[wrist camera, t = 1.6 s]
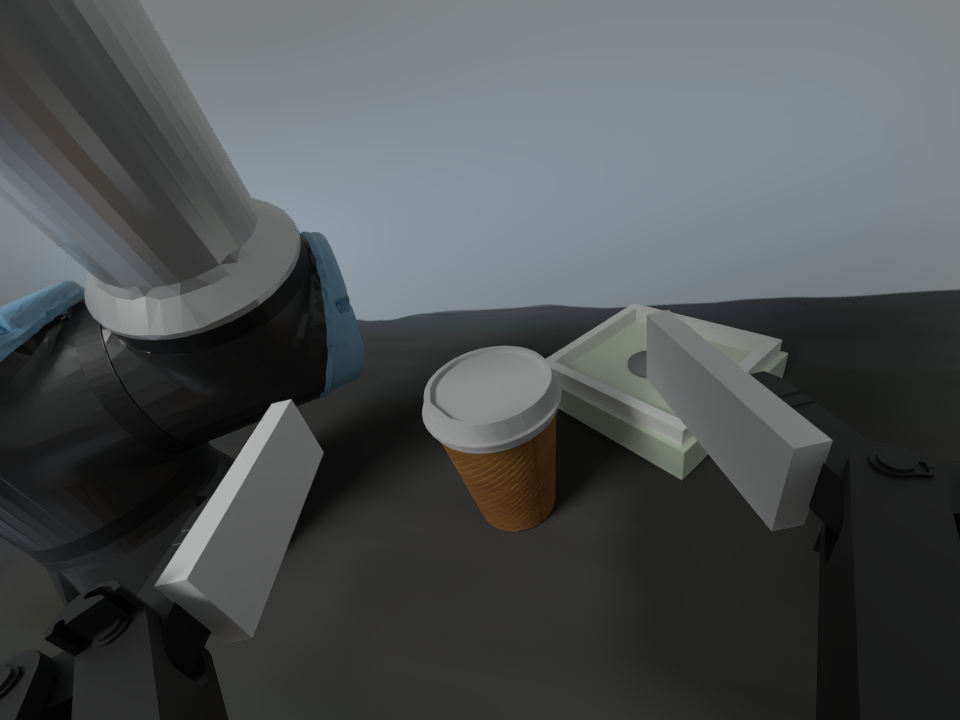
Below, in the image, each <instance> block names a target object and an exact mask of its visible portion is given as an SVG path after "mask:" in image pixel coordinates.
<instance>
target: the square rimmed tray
mask: <svg viewBox="0 0 960 720" xmlns="http://www.w3.org/2000/svg"><path fill="white" fill-rule="evenodd" d="M661 311H663V310H659V309H655V308H651V307H647V306H643V305H639V304H632V305H630V306H628V307H627V308H625V309H624V310H622V311H621V312H619V313H617V314H616V315H614V316H613V317H611V318H609V319H608V320H606V321H605V322H603V323H602V324H600V325H598V326H597V327H595V328H594V329H592V330H591V331H589V332H587V333H586V334H584V335H583V336H581V337H579V338H578V339H576V340H575V341H573V342H572V343H570V344H568V345H567V346H565V347H564V348H562V349H561V350H559V351H557V352H556V353H554V354H553V355H551V356H549V357H548V358H546V360H547V362H548V364H549V365H550V367H551V369H552V370H553V371H554V372H555V373H556V375H557V376H558V378H559V380H560V383H561V387H562V393H561V402H560V404H559V406H558V409H560V410H562V411H564V412H565V413H567V414H569V415H570V416H572V417H574V418H576V419H577V420H579V421H581V422H583V423H584V424H586V425H588V426H589V427H591V428H593V429H595V430H596V431H598V432H600V433H601V434H603V435H605V436H607V437H608V438H610V439H612V440H613V441H615V442H617V443H619V444H620V445H622V446H624V447H625V448H627V449H629V450H631V451H632V452H634V453H636V454H638V455H639V456H641V457H643V458H644V459H646V460H648V461H650V462H651V463H653V464H655V465H656V466H658V467H660V468H662V469H663V470H665V471H667V472H668V473H670V474H672V475H674V476H675V477H677V478H679V479H680V480H683V479H684V478H685V477H686V476H687V475H688V474H689V473H690V472H691V471H692V470H693V469H694V468H695V467H696V466H697V465H698V464H699V463H700V462H701V461H702V460H703V459H704V458H705V457H706V456H707V455H708V453H707V452H706V450H705V449H704V448H703V447H702V446H701V444H700V443H699V442H698V441H697V439H696V438H695V437H694V436H693V435H692V433H691V432H690V431H689V430H688V428H687V427H686V426H685V425H684V424H683V422H682V421H681V420H680V419H679V417H678V416H677V415H676V414H675V413H674V411H673V410H672V409H671V408H670V406H669V405H668V404H667V403H666V402H665V400H664V399H663V398H662V397H661V395H660V394H659V393H658V392H657V391H656V389H655V388H654V387H653V386H652V384H651V383H650V382H649V381H648V380H647V315H649V314H653V313H657V312H661ZM673 314H674V315H675V316H677V317H678V318H679V319H681V320H682V321H683V322H684V323H686V324H687V325H688V326H689V327H691V328H692V329H693V330H694V331H696V332H697V333H698V334H699V335H701V336H702V337H703V338H704V339H706V340H707V341H708V342H710V343H711V344H712V345H713V346H715V347H716V348H717V349H718V350H720V351H721V352H722V353H723V354H725V355H726V356H727V357H728V358H730V359H731V360H732V361H733V362H735V363H736V364H737V365H738V366H740V367H741V368H742V369H744V370H745V371H746V372H747V373H749V374H753V373H757V372H761V371H765V372H768V373H770V374H773V375H775V376H778V377H781V378H783V374H784V370H785V366H786V361H787V357H788V353H786V352H782V351H780V349H781V344H782V340H781V339H777V338H773V337H769V336H765V335H761V334H757V333H753V332H749V331H745V330H740V329H736V328H732V327H728V326H724V325H720V324H716V323H712V322H708V321H704V320H700V319H696V318H692V317H687V316H683V315H679V314H675V313H673Z"/></svg>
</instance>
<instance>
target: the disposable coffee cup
mask: <svg viewBox="0 0 960 720" xmlns="http://www.w3.org/2000/svg"><path fill="white" fill-rule="evenodd" d="M561 393H562V387H561V383H560V380H559V378H558V376H557V375H556V373H555V372H554V371H553V370H552V369H551V367H550V365H549V364H548V362H547V360H546V359H544V358H543V357H542V356H541V355H539V354H538V353H537V352H535V351H532V350H530V349H526V348H522V347H516V346H494V347H487V348H482V349H478V350H475V351H471V352H468V353H465V354H463V355H461V356H459V357H457V358H455V359H453V360H451V361H450V362H448V363H447V364H445V365H444V366H442V367H441V368H440V369H439V370H438V371H437V372H436V373H435V374H434V375H433V376H432V377H431V378H430V380H429V381H428V383H427V385H426V387H425V391H424V404H423V409H422V416H423V422H424V424H425V426H426V428H427V430H428V431H429V432H430V433H431V434H432V435H433V437H435V438H436V439H438V440H439V441H440V442H441V443H442V445H443V446H444V448H445V449H446V452H447V453H448V455H449V457H450V459H451V460H452V462H453V464H454V465H455V467H456V469H457V471H458V472H459V474H460V476H461V478H462V479H463V481H464V483H465V485H466V486H467V488H468V490H469V491H470V493H471V495H472V497H473V499H474V500H475V502H476V504H477V505H478V507H479V509H480V510H481V512H482V514H483V516H484V518H485V519H486V520H487V521H488V522H489V523H490V524H491V525H493V526H494V527H496V528H498V529H501V530H505V531H513V532H517V531H523V530H528V529H531V528H533V527H535V526H537V525H539V524H540V523H541V522H542V521H543V520H545V519H546V518H547V517H548V515H549V514H550V513H551V511H552V509H553V507H554V503H555V467H556V412H557V409H558V406H559V404H560V402H561Z"/></svg>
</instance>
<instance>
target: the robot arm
mask: <svg viewBox="0 0 960 720" xmlns="http://www.w3.org/2000/svg"><path fill="white" fill-rule="evenodd" d="M0 196H1V197H3V198H4V199H5V200H6V201H7V202H8V203H9V204H11V205H12V206H13V207H14V208H15V209H16V210H18V211H19V212H20V213H21V214H22V215H23V216H25V217H26V218H27V219H28V220H29V221H30V222H31V223H33V224H34V225H35V226H36V227H37V228H38V229H40V230H41V231H42V232H43V233H44V234H45V235H47V236H48V237H49V238H50V239H51V240H52V241H54V242H55V243H56V244H57V245H58V246H59V247H61V248H62V249H63V250H64V251H65V252H66V253H68V254H69V255H70V256H71V257H72V258H73V259H75V260H76V261H77V262H78V263H79V264H80V265H82V266H83V267H84V268H85V269H86V270H87V271H88V274H87V279H86V284H85V289H84V288H82V287H81V286H80V285H78V284H77V283H75V282H72V281H61V282H60V283H59V284H54V285H52V286H49V287H46V288H44V289H41V290H39V291H37V292H34V293H32V294H30V295H27V296H25V297H23V298H20V299H18V300H16V301H14V302H12V303H9V304H7V305H5V306H2V307H0V537H2V538H3V539H5V540H6V541H8V542H9V543H11V544H12V545H14V546H16V547H17V548H19V549H20V550H22V551H24V552H25V553H27V554H28V555H29V556H31V557H32V558H34V559H35V560H37V561H38V562H39V563H41V564H42V565H43V566H44V567H45V568H46V569H47V571H48V573H49V575H50V577H51V579H52V582H53V584H54V586H55V588H56V590H57V592H58V594H59V596H60V598H61V600H62V602H63V604H64V606H65V608H64V609H63V610H62V611H61V612H60V613H59V614H58V615H57V616H56V618H55V619H54V621H53V622H52V623H51V625H50V626H49V627H48V630H47V632H46V635H45V637H44V639H45V640H47V641H49V642H50V643H52V644H54V645H55V646H57V647H59V648H61V649H62V650H64V652H62V653H60V654H58V655H56V656H54V657H52V658H50V657H48V656H46V655H44V654H43V653H41V652H39V651H37V650H29V651H25V652H23V653H20V654H18V655H16V656H14V657H12V658H11V659H9V660H8V661H6V662H5V663H3V664H2V665H0V720H228V716H227V712H226V709H225V705H224V701H223V697H222V693H221V690H220V686H219V682H218V678H217V675H216V671H215V667H214V663H213V660H212V656H211V654H210V653H209V651H208V650H207V649H206V648H205V647H204V646H205V644H206V642H207V640H208V638H209V635H210V633H212V634H213V635H214V636H216V637H217V638H218V639H219V640H220V641H222V642H223V643H224V644H225V643H230V642H235V641H239V640H244V639H249V638H253V635H254V633H255V630H256V627H257V625H258V622H259V620H260V617H261V614H262V612H263V609H264V607H265V604H266V601H267V599H268V596H269V593H270V591H271V588H272V586H273V583H274V580H275V578H276V575H277V573H278V570H279V567H280V565H281V562H282V560H283V557H284V554H285V552H286V549H287V547H288V544H289V541H290V539H291V536H292V534H293V531H294V528H295V526H296V523H297V521H298V518H299V515H300V513H301V510H302V508H303V505H304V502H305V500H306V497H307V495H308V492H309V489H310V487H311V484H312V482H313V479H314V476H315V474H316V471H317V469H318V466H319V463H320V461H321V458H322V456H323V453H324V452H323V450H322V449H321V447H320V445H319V444H318V442H317V440H316V439H315V437H314V436H313V434H312V432H311V431H310V429H309V427H308V426H307V424H306V422H305V421H304V419H303V417H302V416H301V414H300V412H299V411H298V409H297V408H296V407H297V406H299V405H302V404H304V403H307V402H310V401H312V400H315V399H317V398H323V397H325V396H326V395H328V394H329V392H330V391H332V390H334V389H336V388H339V387H341V386H343V385H345V384H347V383H349V382H351V381H353V380H355V379H356V378H357V377H358V376H359V375H360V374H361V372H362V371H363V368H364V365H365V355H364V348H363V344H362V339H361V336H360V332H359V328H358V324H357V321H356V318H355V315H354V311H353V309H352V307H351V305H350V304H349V297H348V295H347V291H346V286H345V283H344V280H343V277H342V275H341V272H340V269H339V266H338V264H337V261H336V259H335V256H334V254H333V252H332V249H331V247H330V245H329V243H328V241H327V239H326V238H325V237H324V236H323V235H322V234H321V233H318V232H312V233H309V232H302V233H299V231H298V229H297V227H296V225H295V223H294V222H293V220H292V219H291V218H290V217H289V216H288V215H287V214H286V213H285V212H284V211H283V210H282V209H280V208H278V207H277V206H274V205H272V204H270V203H268V202H264V201H261V200H257V199H254V198H251V196H250V195H249V193H248V191H247V189H246V187H245V186H244V184H243V182H242V180H241V179H240V177H239V175H238V173H237V171H236V170H235V168H234V166H233V164H232V163H231V161H230V159H229V157H228V156H227V154H226V152H225V151H224V149H223V147H222V145H221V143H220V142H219V140H218V138H217V136H216V134H215V133H214V131H213V129H212V128H211V126H210V124H209V122H208V120H207V119H206V117H205V115H204V113H203V112H202V110H201V108H200V106H199V105H198V103H197V101H196V99H195V97H194V96H193V94H192V92H191V91H190V89H189V87H188V85H187V84H186V82H185V80H184V78H183V76H182V75H181V73H180V71H179V69H178V68H177V66H176V64H175V62H174V60H173V59H172V57H171V55H170V53H169V52H168V50H167V48H166V46H165V45H164V43H163V41H162V39H161V38H160V36H159V34H158V32H157V31H156V29H155V27H154V25H153V24H152V22H151V20H150V18H149V16H148V15H147V13H146V11H145V9H144V8H143V6H142V4H141V3H140V1H139V0H0ZM647 380H648V381H649V382H650V383H651V384H652V386H653V387H654V388H655V389H656V391H657V392H658V393H659V394H660V395H661V397H662V398H663V399H664V400H665V402H666V403H667V404H668V405H669V406H670V408H671V409H672V410H673V411H674V413H675V414H676V415H677V416H678V417H679V419H680V420H681V421H682V422H683V424H684V425H685V426H686V427H687V428H688V430H689V431H690V432H691V433H692V435H693V436H694V437H695V438H696V439H697V441H698V442H699V443H700V444H701V446H702V447H703V448H704V449H705V450H706V452H707V453H708V454H709V455H710V457H711V458H712V459H713V460H714V461H715V463H716V464H717V465H718V466H719V468H720V469H721V470H722V471H723V472H724V474H725V475H726V476H727V477H728V479H729V480H730V481H731V482H732V483H733V485H734V486H735V487H736V488H737V490H738V491H739V492H740V493H741V494H742V496H743V497H744V498H745V499H746V501H747V502H748V503H749V504H750V505H751V507H752V508H753V509H754V510H755V512H756V513H757V514H758V515H759V516H760V518H761V519H762V520H763V521H764V523H765V524H766V525H767V526H768V527H769V529H770V530H771V531H775V530H780V529H785V528H790V527H795V526H800V525H804V524H805V521H806V518H807V515H808V512H809V509H811V510H812V511H813V512H814V513H815V514H816V515H817V516H818V517H819V518H820V519H821V520H822V521H823V525H822V528H821V530H820V533H819V536H818V538H817V541H816V543H815V546H814V549H813V550H815V551H817V552H819V551H820V571H819V616H818V661H817V706H816V720H960V462H953V461H931V460H929V459H928V458H927V457H926V456H924V455H922V454H920V453H918V452H916V451H914V450H912V449H910V448H907V447H904V446H900V445H897V444H893V443H887V442H878V441H870V440H868V439H867V438H865V437H864V436H863V435H861V434H860V433H858V432H857V431H856V430H854V429H853V428H852V427H850V426H849V425H847V424H846V423H845V422H843V421H842V420H841V419H839V418H838V417H836V416H835V415H834V414H832V413H831V412H830V411H828V410H827V409H825V408H824V407H823V406H821V405H820V404H819V403H817V404H816V403H815V401H814V400H813V399H812V398H810V397H809V396H807V395H806V394H805V393H804V394H802V392H801V390H799V389H798V388H796V387H795V386H794V385H792V384H791V383H790V382H788V381H787V380H785V379H783V378H781V377H778V376H775V375H773V374H770V373H768V372H765V371H761V372H757V373H753V374H749V373H747V372H746V371H745V370H744V369H742V368H741V367H740V366H738V365H737V364H736V363H735V362H733V361H732V360H731V359H730V358H728V357H727V356H726V355H725V354H723V353H722V352H721V351H720V350H718V349H717V348H716V347H715V346H713V345H712V344H711V343H710V342H708V341H707V340H706V339H704V338H703V337H702V336H701V335H699V334H698V333H697V332H696V331H694V330H693V329H692V328H691V327H689V326H688V325H687V324H686V323H684V322H683V321H682V320H681V319H679V318H678V317H677V316H675V315H674V314H673V313H672V312H670V311H669V310H666V311H661V312H657V313H653V314H649V315H647ZM259 421H260V423H259V424H258V426H257V427H256V429H255V431H254V432H253V434H252V435H251V437H250V438H249V440H248V441H247V443H246V444H245V446H244V448H243V449H242V451H241V452H240V454H239V455H238V457H237V458H236V459H234V458H232V457H230V456H228V455H226V454H225V453H223V452H221V451H219V450H217V449H215V448H214V447H212V446H211V445H210V443H209V442H208V441H211V440H213V439H216V438H218V437H221V436H223V435H226V434H229V433H231V432H234V431H236V430H239V429H241V428H244V427H246V426H249V425H251V424H254V423H256V422H259Z"/></svg>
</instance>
